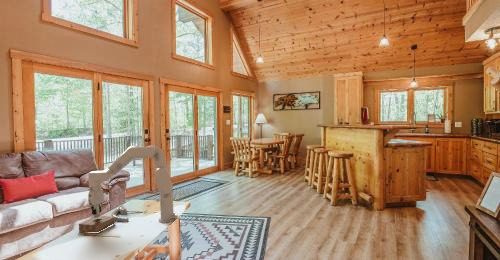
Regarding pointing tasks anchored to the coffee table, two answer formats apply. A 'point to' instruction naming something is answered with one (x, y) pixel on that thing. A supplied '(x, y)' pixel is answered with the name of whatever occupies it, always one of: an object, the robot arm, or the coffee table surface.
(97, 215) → the peg
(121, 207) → the faucet
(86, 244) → the coffee table surface
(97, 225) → the socket block
